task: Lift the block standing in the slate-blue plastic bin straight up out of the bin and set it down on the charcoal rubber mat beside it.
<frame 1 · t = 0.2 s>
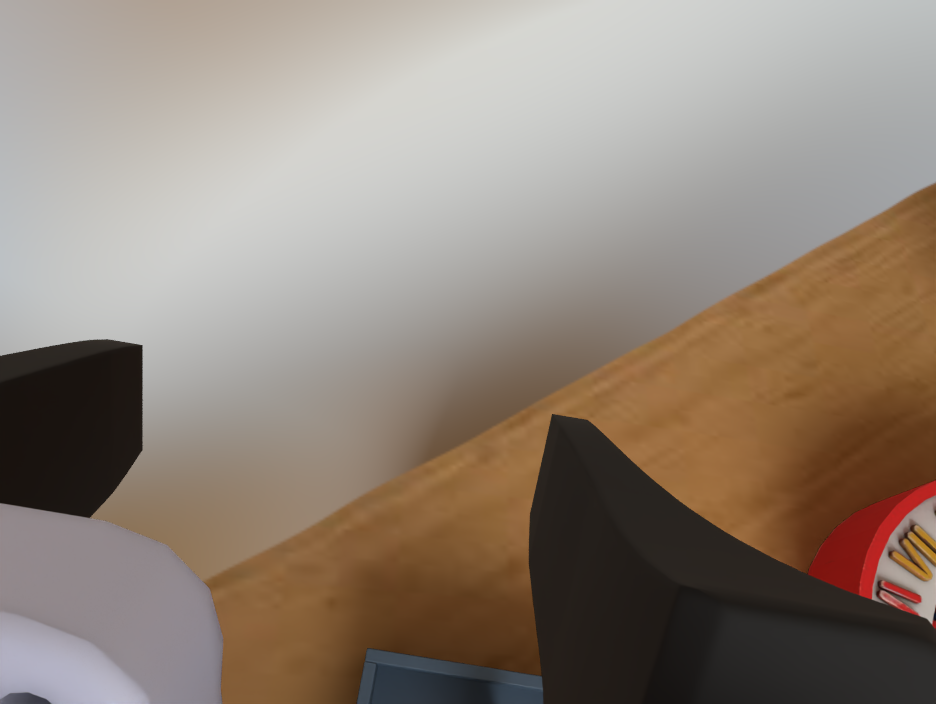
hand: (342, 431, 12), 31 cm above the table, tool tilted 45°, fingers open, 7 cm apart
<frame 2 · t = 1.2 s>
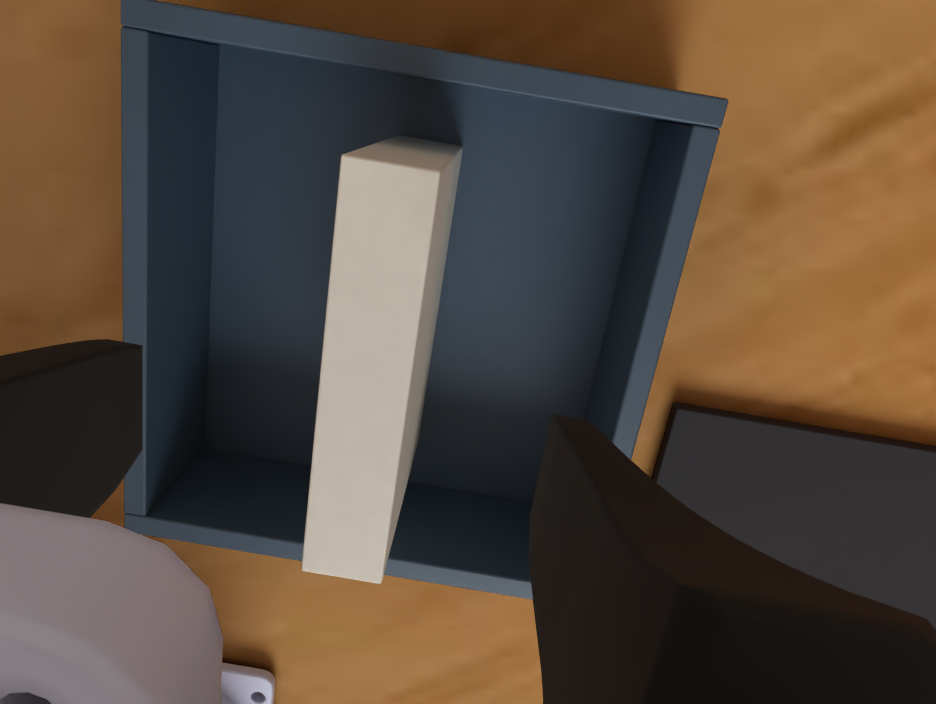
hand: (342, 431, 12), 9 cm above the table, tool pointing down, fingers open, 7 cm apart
mat: (807, 688, 25), on the table
block: (408, 299, 21), point 1 cm above the table, touching bin
bin: (411, 293, 21), on the table
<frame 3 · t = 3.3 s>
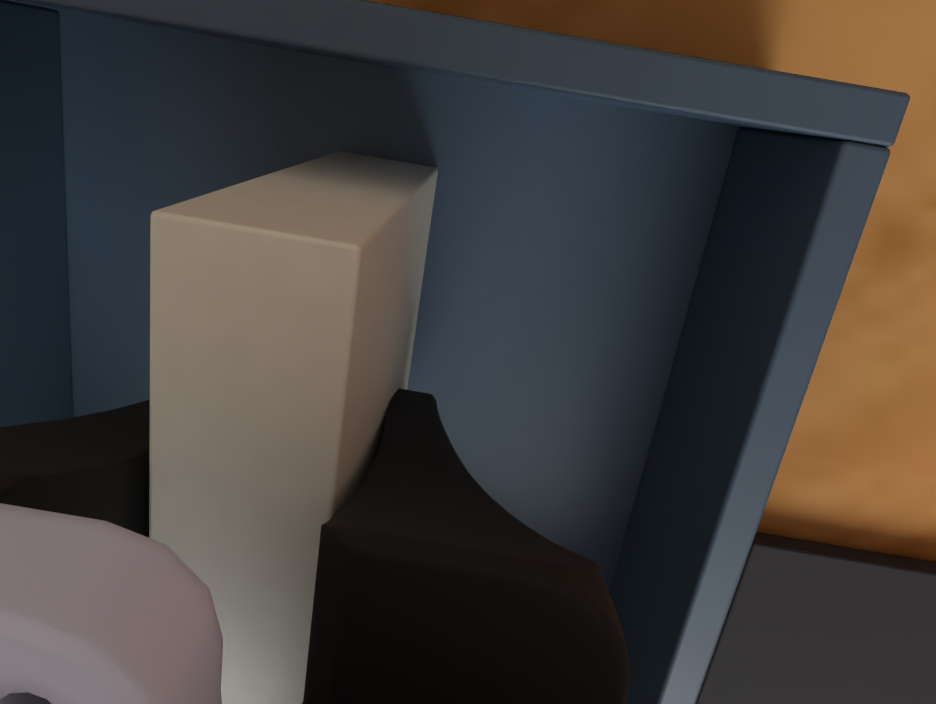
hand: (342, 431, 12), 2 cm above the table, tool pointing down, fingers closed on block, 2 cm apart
block: (361, 391, 14), point 1 cm above the table, touching bin, gripper
bin: (367, 379, 15), on the table
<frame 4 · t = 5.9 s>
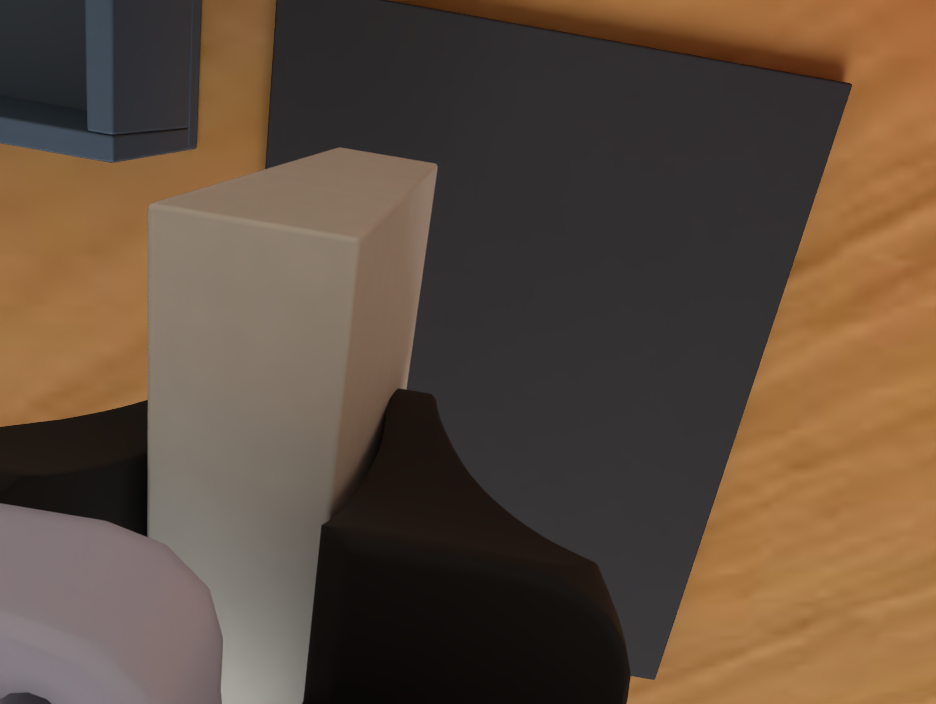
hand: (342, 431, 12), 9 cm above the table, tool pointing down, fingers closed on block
mat: (496, 381, 22), on the table
block: (360, 388, 14), point 8 cm above the table, touching gripper
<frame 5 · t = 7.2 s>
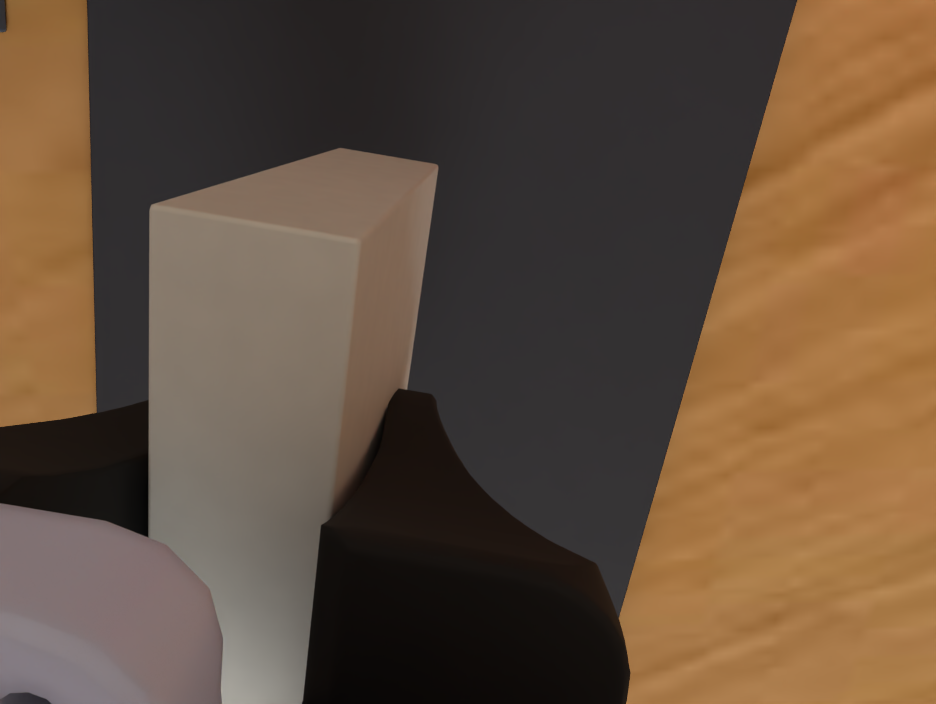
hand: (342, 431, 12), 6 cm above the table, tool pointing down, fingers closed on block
mat: (394, 324, 18), on the table
block: (361, 388, 14), point 4 cm above the table, touching gripper
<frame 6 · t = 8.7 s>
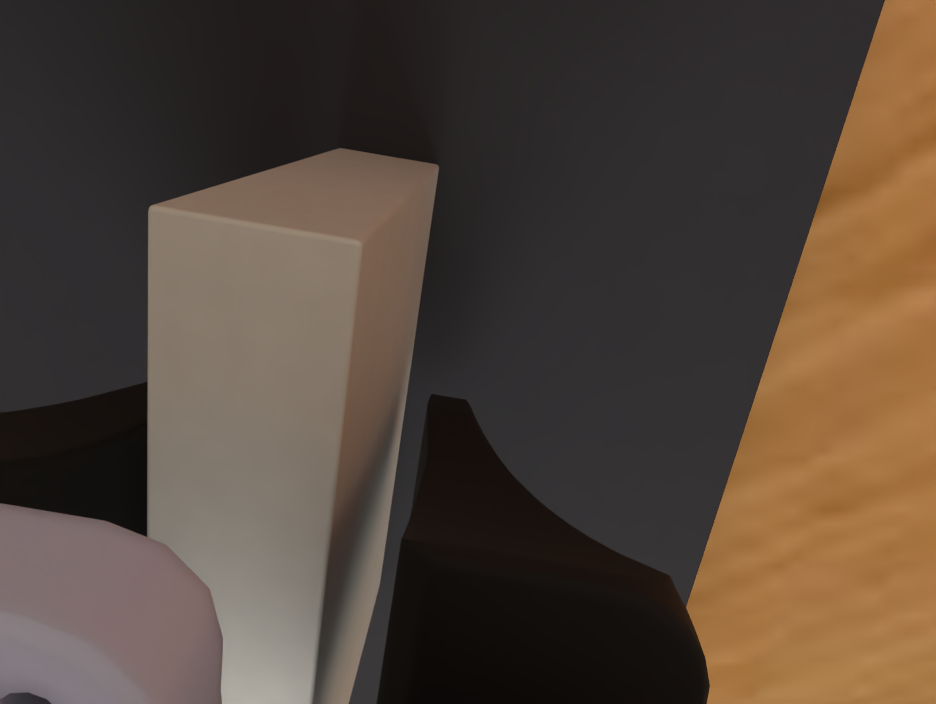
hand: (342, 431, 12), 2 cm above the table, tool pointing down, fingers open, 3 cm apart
mat: (366, 383, 14), on the table
block: (361, 389, 14), resting on mat
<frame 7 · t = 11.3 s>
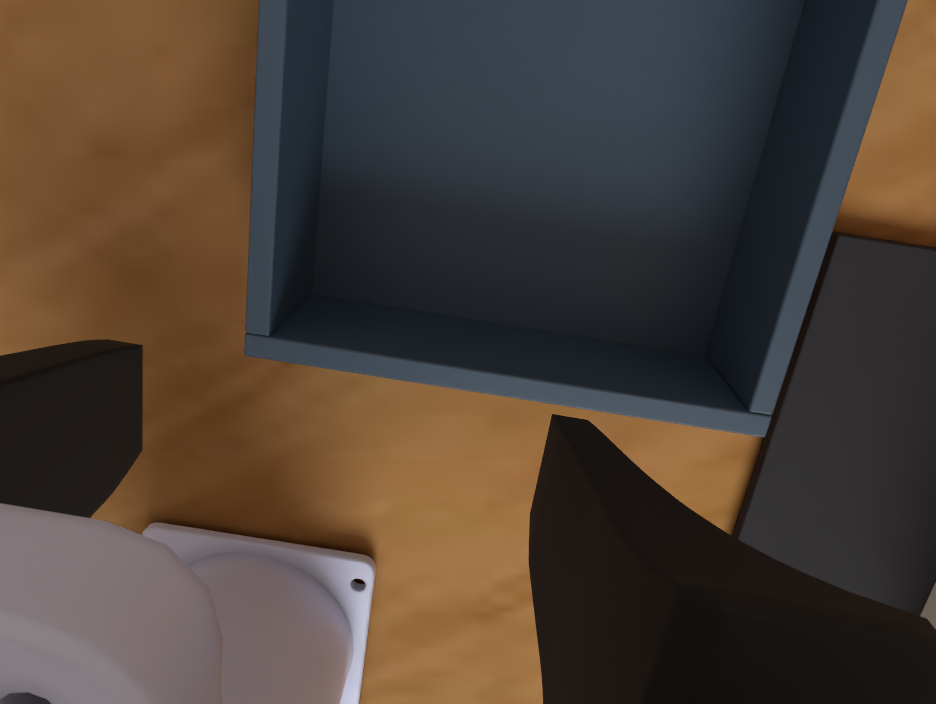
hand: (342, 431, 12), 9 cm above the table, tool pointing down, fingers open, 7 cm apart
bin: (545, 109, 19), on the table
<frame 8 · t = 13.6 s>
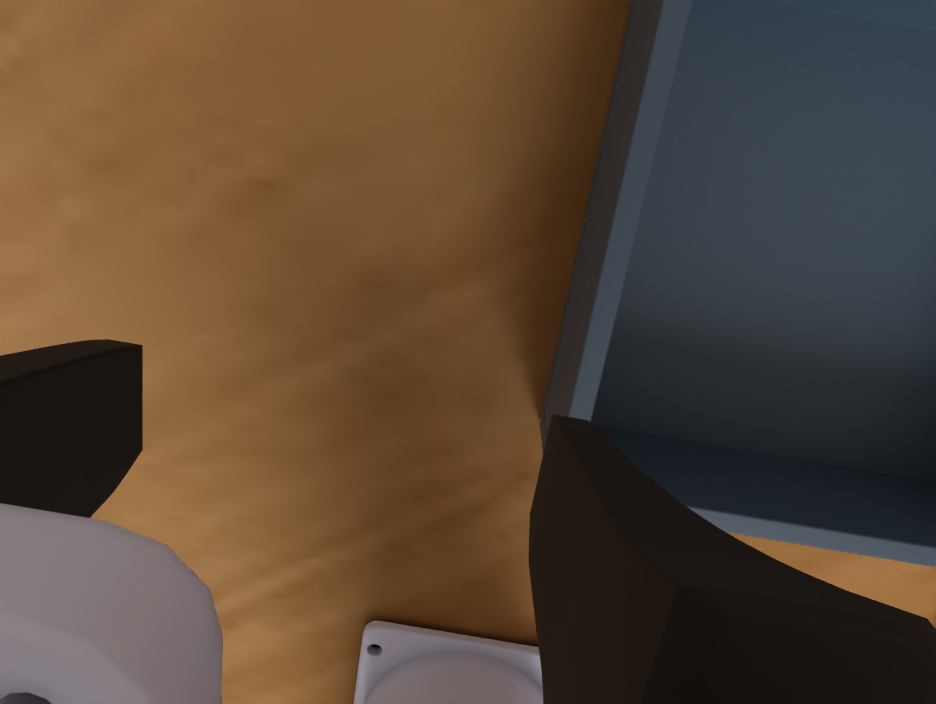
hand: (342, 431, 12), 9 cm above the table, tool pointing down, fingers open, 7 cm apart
bin: (805, 255, 20), on the table
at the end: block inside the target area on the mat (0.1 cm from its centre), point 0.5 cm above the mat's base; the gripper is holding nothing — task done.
